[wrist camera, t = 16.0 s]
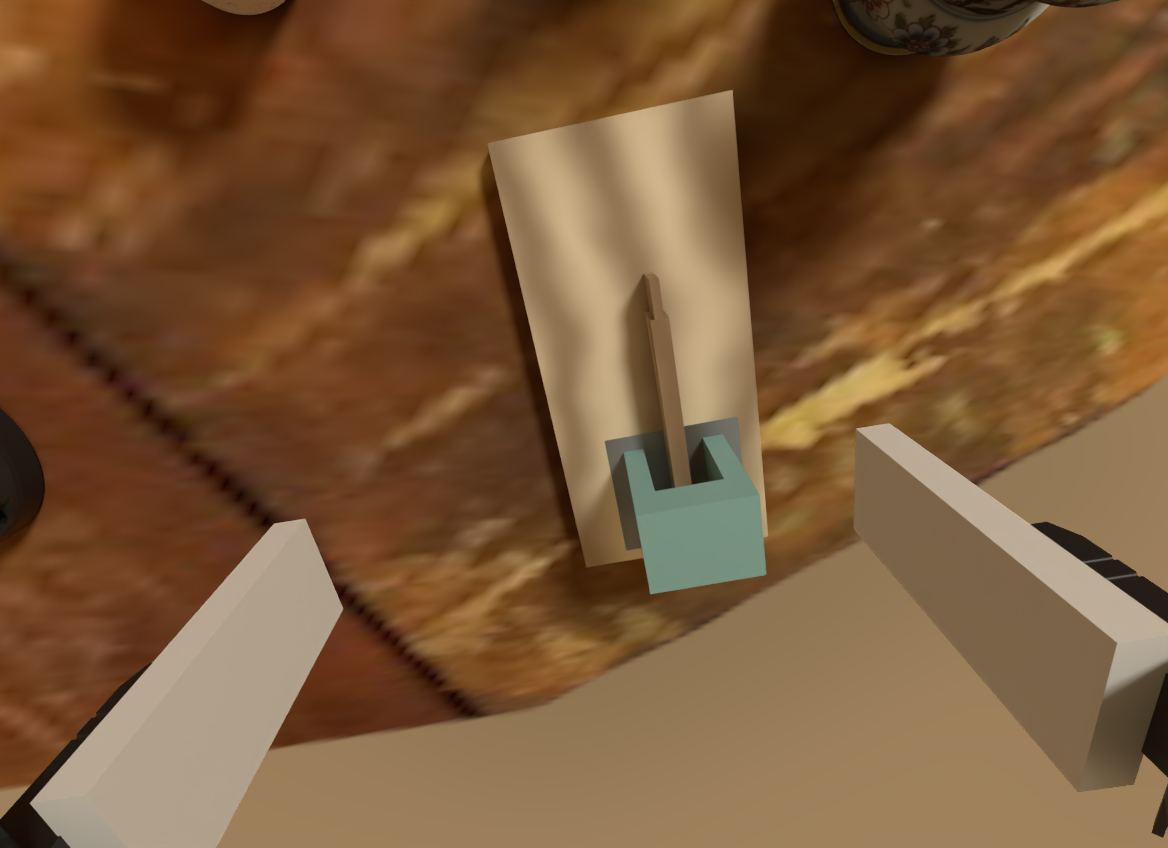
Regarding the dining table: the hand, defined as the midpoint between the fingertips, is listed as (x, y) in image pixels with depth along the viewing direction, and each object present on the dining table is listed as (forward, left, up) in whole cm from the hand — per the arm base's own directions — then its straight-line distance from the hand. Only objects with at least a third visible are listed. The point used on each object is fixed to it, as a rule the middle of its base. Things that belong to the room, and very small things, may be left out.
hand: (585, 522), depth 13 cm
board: (+4, -5, -29) cm, 29 cm away
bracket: (+5, -14, -27) cm, 31 cm away
